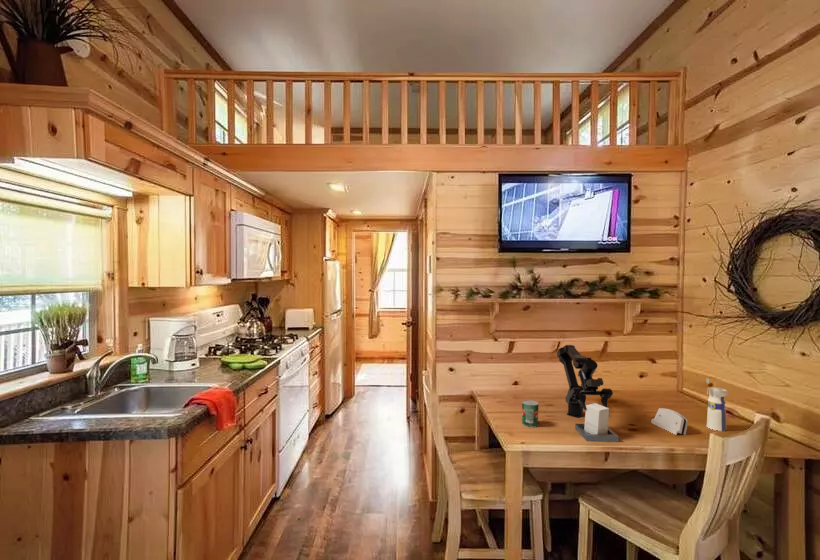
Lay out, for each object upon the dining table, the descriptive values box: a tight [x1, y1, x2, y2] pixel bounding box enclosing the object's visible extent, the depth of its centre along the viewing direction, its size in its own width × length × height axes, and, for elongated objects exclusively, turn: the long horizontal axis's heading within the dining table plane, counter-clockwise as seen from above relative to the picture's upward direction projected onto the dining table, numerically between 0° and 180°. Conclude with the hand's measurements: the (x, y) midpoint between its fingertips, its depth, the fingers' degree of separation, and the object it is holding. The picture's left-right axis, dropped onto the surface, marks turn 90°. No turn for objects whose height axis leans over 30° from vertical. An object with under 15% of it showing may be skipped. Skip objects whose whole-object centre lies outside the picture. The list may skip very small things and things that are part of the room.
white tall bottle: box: [705, 377, 730, 432], centre depth 189 cm, size 8×9×25 cm
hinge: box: [651, 407, 689, 436], centre depth 189 cm, size 17×5×10 cm, turn 6°
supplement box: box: [584, 402, 610, 435], centre depth 180 cm, size 7×7×13 cm
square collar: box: [574, 423, 620, 443], centre depth 180 cm, size 14×14×3 cm
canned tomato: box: [521, 399, 540, 428], centre depth 193 cm, size 8×8×11 cm
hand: (595, 410), depth 180 cm, fingers open, 9 cm apart
